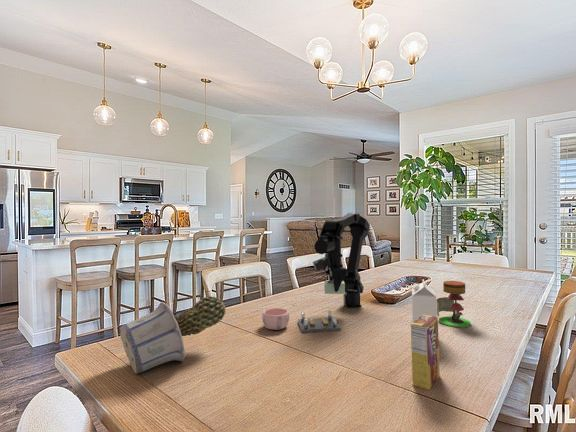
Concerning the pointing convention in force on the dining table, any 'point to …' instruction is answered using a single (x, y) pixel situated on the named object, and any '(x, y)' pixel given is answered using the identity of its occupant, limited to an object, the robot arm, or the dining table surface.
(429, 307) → the milk carton
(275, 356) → the dining table surface
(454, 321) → the brown and green pedestal
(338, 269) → the robot arm
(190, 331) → the potted plant
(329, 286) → the pale green block
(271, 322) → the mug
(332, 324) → the chassis
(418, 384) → the candy box
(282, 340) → the dining table surface
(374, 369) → the dining table surface
